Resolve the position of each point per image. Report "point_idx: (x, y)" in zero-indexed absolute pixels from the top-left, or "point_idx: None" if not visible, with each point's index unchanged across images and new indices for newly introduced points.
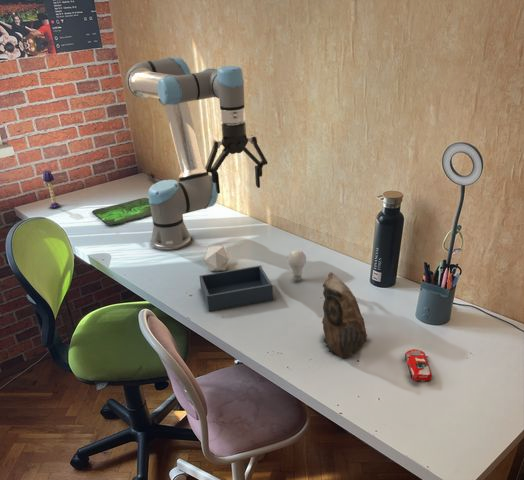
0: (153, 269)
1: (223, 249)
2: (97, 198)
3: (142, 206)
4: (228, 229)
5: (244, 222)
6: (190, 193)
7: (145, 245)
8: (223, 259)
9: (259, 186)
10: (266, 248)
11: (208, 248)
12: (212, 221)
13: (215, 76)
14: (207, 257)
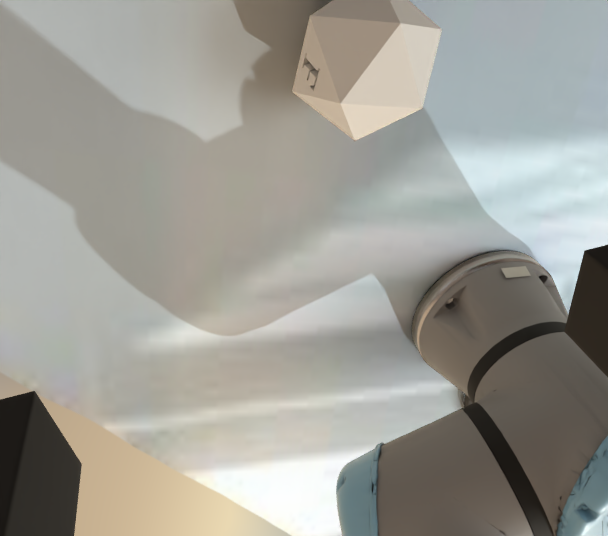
0: (604, 99)
1: (342, 76)
2: None
3: None
4: (262, 392)
5: (198, 439)
6: (492, 486)
7: (562, 294)
8: (341, 7)
9: (3, 412)
10: (91, 232)
11: (424, 98)
12: (314, 441)
13: None
14: (431, 32)
